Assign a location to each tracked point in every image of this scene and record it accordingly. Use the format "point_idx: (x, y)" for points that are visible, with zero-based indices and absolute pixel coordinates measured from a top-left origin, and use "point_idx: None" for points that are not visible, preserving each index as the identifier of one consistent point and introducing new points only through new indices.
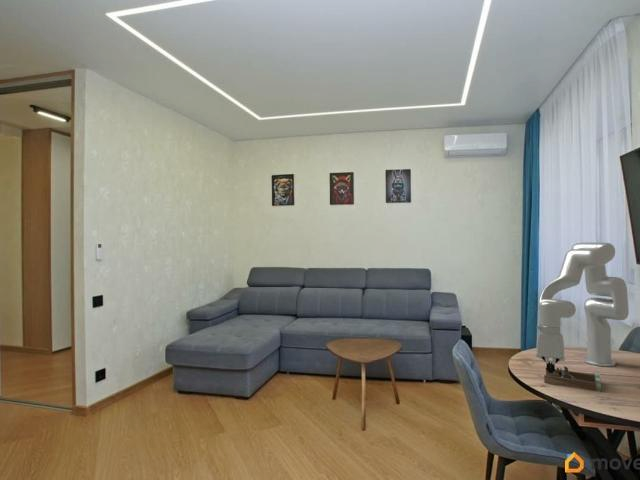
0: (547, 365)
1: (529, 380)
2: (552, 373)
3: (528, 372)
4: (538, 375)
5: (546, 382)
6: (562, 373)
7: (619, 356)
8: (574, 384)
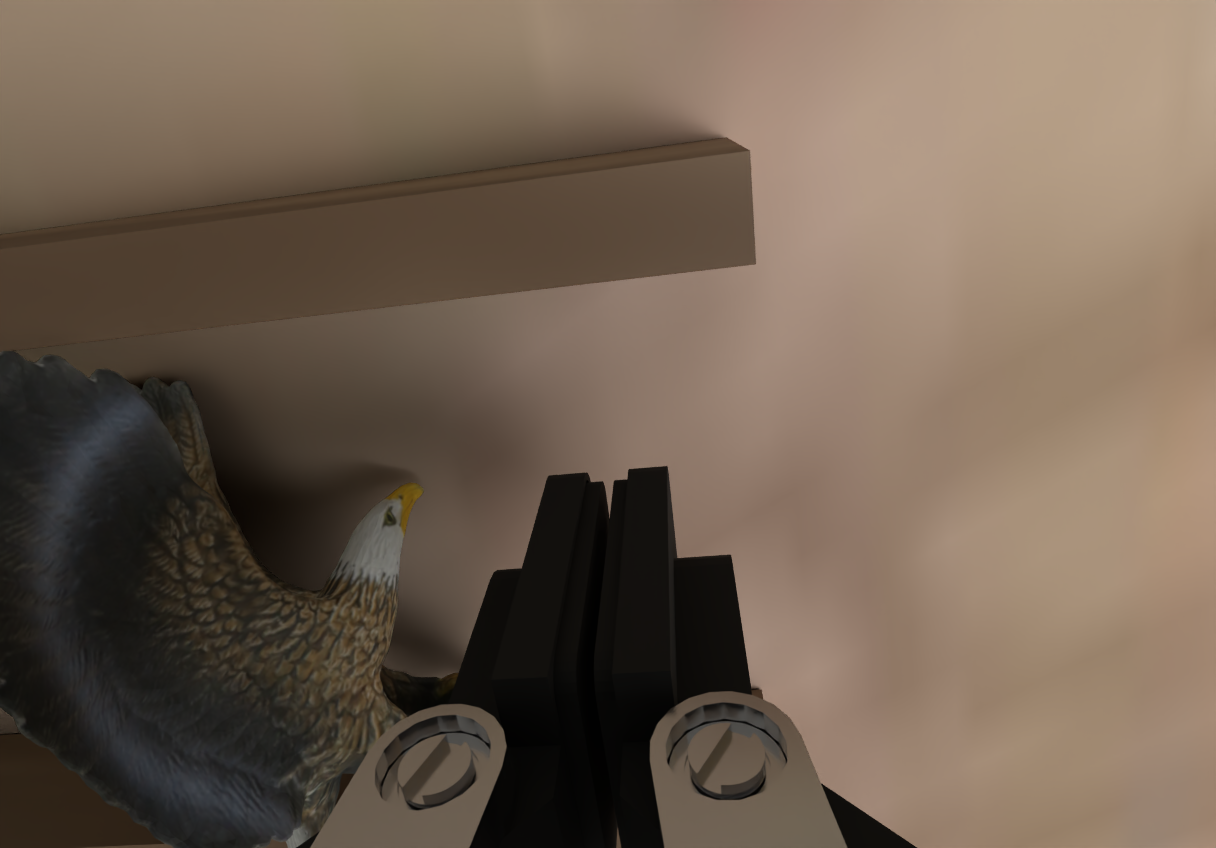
0: (709, 669)
1: (1119, 98)
2: (551, 476)
3: (1115, 688)
4: (903, 611)
5: (676, 145)
6: (365, 668)
7: None
8: (14, 239)
